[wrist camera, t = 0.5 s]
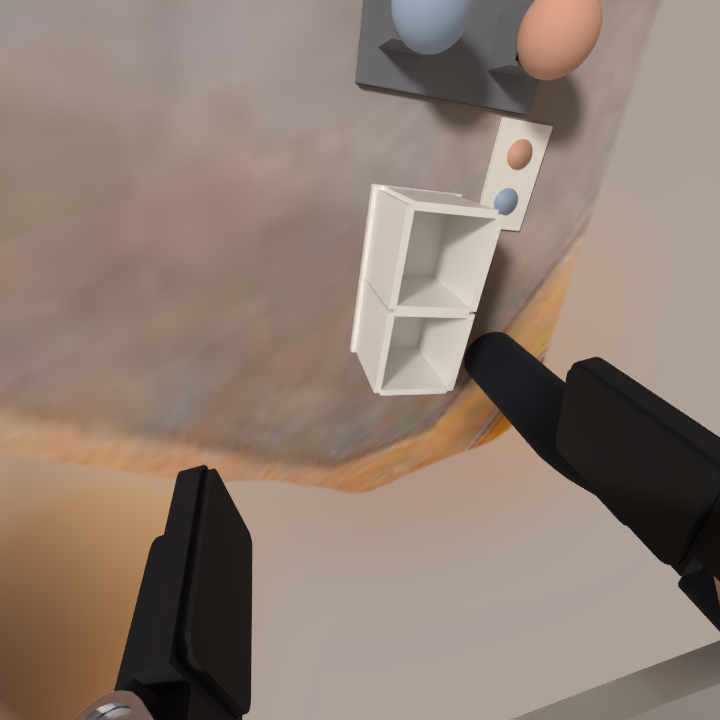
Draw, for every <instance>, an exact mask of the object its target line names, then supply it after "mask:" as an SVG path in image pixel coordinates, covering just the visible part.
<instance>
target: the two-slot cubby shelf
mask: <svg viewBox="0 0 720 720" xmlns="http://www.w3.org/2000/svg"><path fill="white" fill-rule="evenodd" d="M498 212H499V210H497V209H494V208H491V207H488V206H485V205H482V204H479V203H477V202H474V201H471V200H468V199H465V198H462V194H457V193H449V192H441V191H432V190H424V189H415V188H407V187H398V186H390V185H381V184H373V183H372V185H371V193H370V200H369V208H368V216H367V223H366V231H365V239H364V246H363V254H362V262H361V270H360V277H359V285H358V293H357V300H356V308H355V316H354V323H353V331H352V339H351V347H350V350H351V352H356V353H357V355H358V358H359V360H360V362H361V364H362V367H363V369H364V371H365V373H366V376H367V378H368V380H369V382H370V385H371V387H372V389H373V391H374V393H379V394H380V396H381V395H414V394H446V392H447V391H453V388H454V385H455V382H456V378H457V375H458V371H459V368H460V365H461V361H462V358H463V355H464V351H465V348H466V345H467V341H468V338H469V334H470V331H471V328H472V324H473V321H474V318H475V315H474V314H473V313H472V312H476V311H477V308H478V304H479V301H480V297H481V294H482V291H483V287H484V284H485V281H486V277H487V274H488V271H489V267H490V264H491V260H492V257H493V254H494V250H495V247H496V244H497V240H498V237H499V234H500V230H501V227H502V223H503V220H504V217H505V215H503V214H500V213H498Z"/></svg>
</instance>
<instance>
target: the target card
mask: <svg viewBox="0 0 720 720" xmlns="http://www.w3.org/2000/svg"><path fill="white" fill-rule="evenodd" d="M552 128H553V126H548V125H543V124H537V123H532V122H526V121H521V120H515V119H510V118H504V117H502V119H501V123H500V127H499V130H498V134H497V138H496V142H495V146H494V149H493V153H492V157H491V161H490V165H489V168H488V172H487V176H486V180H485V184H484V188H483V191H482V195H481V199H480V203H479V204H482V205H485V206H488V207H491V208H494V209H497V210H499V212H498V213H500V214H503V215H505V217H504V220H503V223H502V227H501V229H504V230H514V231H520V228H521V224H522V221H523V218H524V215H525V212H526V209H527V206H528V203H529V200H530V196H531V193H532V190H533V187H534V184H535V181H536V178H537V175H538V172H539V168H540V165H541V162H542V159H543V156H544V153H545V150H546V147H547V143H548V140H549V137H550V134H551V131H552Z"/></svg>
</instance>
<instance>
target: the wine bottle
mask: <svg viewBox="0 0 720 720" xmlns="http://www.w3.org/2000/svg"><path fill="white" fill-rule="evenodd" d="M464 360H465V368H466V370H467V372H468V374H469V375H470V376H471V377H472V378H473V379H474V381H475V382H476V383H477V384H478V385H479V386H480V388H481V389H482V390H483V391H484V392H485V393H486V395H487V396H488V397H489V398H490V399H491V400H492V402H493V403H494V404H495V405H496V406H497V407H498V409H499V410H500V411H501V412H502V413H503V414H504V416H505V417H506V418H507V419H508V420H509V421H510V423H511V424H512V425H513V426H514V427H515V428H516V430H517V431H518V432H519V433H520V434H521V435H522V437H523V438H524V439H525V440H526V441H527V442H528V443H529V444H530V446H531V447H532V448H533V449H534V451H535V452H536V453H537V454H538V455H539V456H540V457H541V458H542V459H543V460H544V461H546V462H547V463H548V464H549V465H551V466H552V467H553V468H554V469H555V470H557V471H558V472H559V473H561V474H562V475H563V476H565V477H566V478H567V479H569V480H571V481H572V482H574V483H575V484H577V485H579V486H580V487H582V488H584V489H586V490H587V491H589V492H591V493H592V494H594V495H596V496H597V497H598V498H599V499H600V500H601V502H602V503H603V504H604V505H605V506H606V507H607V508H608V509H609V510H610V511H611V512H612V514H613V515H614V516H615V517H616V518H617V519H618V520H619V521H620V522H621V523H622V524H623V525H626V524H625V523H624V522H623V521H622V520H621V518H620V517H619V516H618V515H617V514H616V513H615V512H614V511H613V510H612V509H611V508H610V507H609V506H608V504H607V503H606V502H605V501H604V500H603V499H602V498H601V497H600V496H599V495H598V494H597V493H596V492H595V490H594V489H593V488H592V487H591V486H590V485H589V484H588V483H587V482H586V481H585V480H584V479H583V478H582V477H581V475H580V474H579V473H578V472H577V471H576V470H575V469H574V468H573V467H572V466H571V465H570V464H569V463H568V461H567V460H566V459H565V458H564V457H563V456H562V455H561V454H560V453H559V451H558V449H557V447H556V435H557V429H558V423H559V418H560V412H561V406H562V400H563V395H564V389H565V382H564V381H562V380H561V379H560V378H559V377H558V376H556V375H555V374H554V373H553V372H551V371H550V370H549V369H548V368H547V367H546V366H544V365H543V364H542V363H541V362H540V361H538V360H537V359H536V358H535V357H533V356H532V355H531V354H530V353H529V352H527V351H526V350H525V349H524V348H523V347H521V346H520V345H519V344H518V343H517V342H515V341H514V340H513V339H512V338H511V337H509V336H508V335H506V334H504V333H502V332H492V333H488V334H485V335H483V336H482V337H480V338H478V339H477V340H476V341H475V342H474V343H473V344H472V345H471V346H470V348H469V349H468V351H467V353H466V356H465V359H464ZM626 526H627V525H626ZM678 586H679V588H680V589H681V590H682V591H683V592H684V593H685V594H686V595H687V596H688V598H689V599H690V600H691V601H692V602H693V603H694V604H695V605H696V606H697V607H698V608H699V610H700V611H701V612H702V613H703V614H704V615H705V616H706V617H707V618H708V619H709V620H710V622H712V624H713V625H714V626H715V627H716V628H717V629H718V630H719V631H720V603H719V599H718V594H717V589H716V585H715V580H714V576H713V575H712V574H711V573H710V572H709V571H708V570H707V569H706V568H705V567H704V566H703V568H702V569H701V570H698V571H695V572H692V573H689V574H687V575H684V576H682V577H681V579H680V581H679V582H678Z"/></svg>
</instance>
